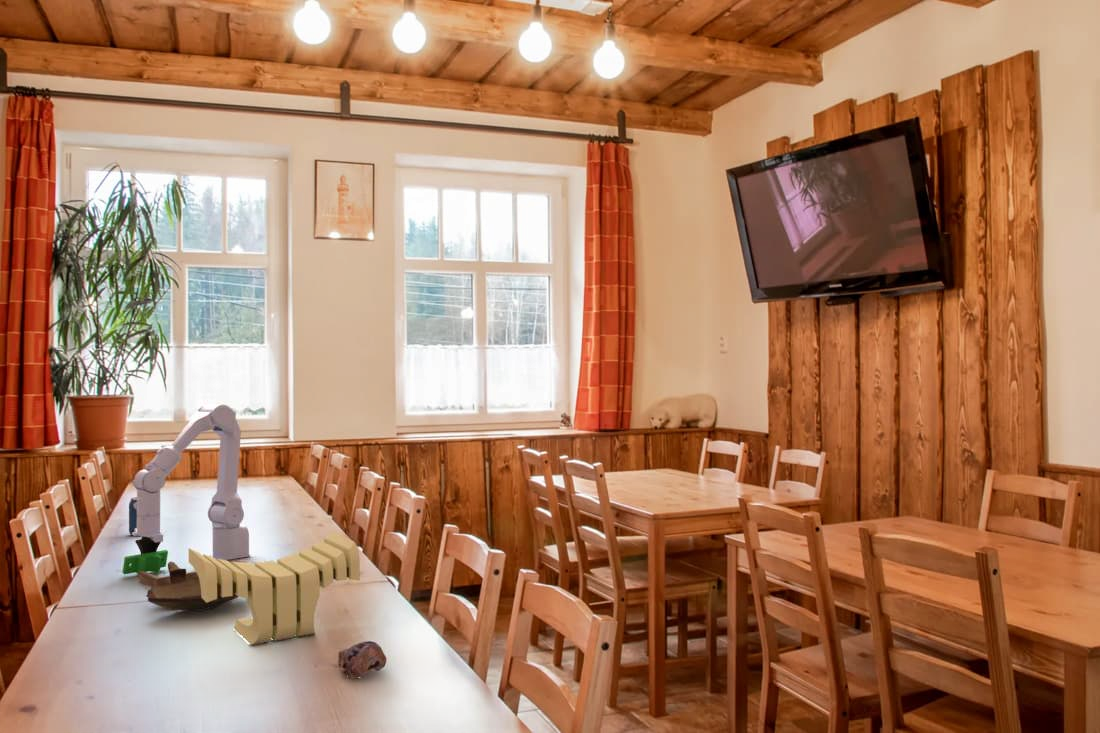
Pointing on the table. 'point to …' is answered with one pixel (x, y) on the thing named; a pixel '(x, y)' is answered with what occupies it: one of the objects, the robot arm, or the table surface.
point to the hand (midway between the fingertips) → (148, 565)
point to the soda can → (132, 515)
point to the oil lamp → (183, 593)
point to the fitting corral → (162, 579)
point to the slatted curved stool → (279, 586)
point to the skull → (361, 659)
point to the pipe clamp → (145, 562)
